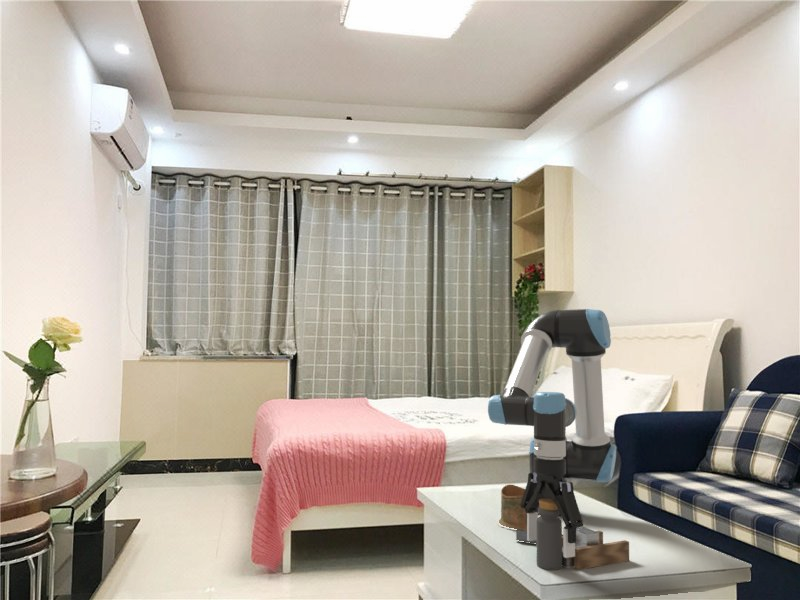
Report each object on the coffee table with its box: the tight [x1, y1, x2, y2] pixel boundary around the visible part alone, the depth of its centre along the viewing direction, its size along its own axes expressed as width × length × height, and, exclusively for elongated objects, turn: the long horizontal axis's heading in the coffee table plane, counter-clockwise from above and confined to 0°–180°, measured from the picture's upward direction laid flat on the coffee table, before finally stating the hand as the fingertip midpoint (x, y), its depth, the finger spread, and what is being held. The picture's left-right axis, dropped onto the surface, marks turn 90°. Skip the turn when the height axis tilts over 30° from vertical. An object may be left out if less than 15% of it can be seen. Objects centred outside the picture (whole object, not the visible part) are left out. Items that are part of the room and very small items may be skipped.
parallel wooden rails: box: [562, 530, 630, 570], centre depth 151 cm, size 16×10×4 cm, turn 115°
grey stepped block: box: [562, 526, 599, 569], centre depth 149 cm, size 10×6×7 cm, turn 115°
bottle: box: [536, 499, 563, 571], centre depth 146 cm, size 6×6×15 cm
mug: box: [498, 484, 541, 530], centre depth 177 cm, size 12×18×12 cm, turn 22°
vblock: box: [515, 529, 563, 545], centre depth 160 cm, size 9×14×3 cm, turn 25°
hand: (550, 548), depth 146 cm, fingers open, 13 cm apart
